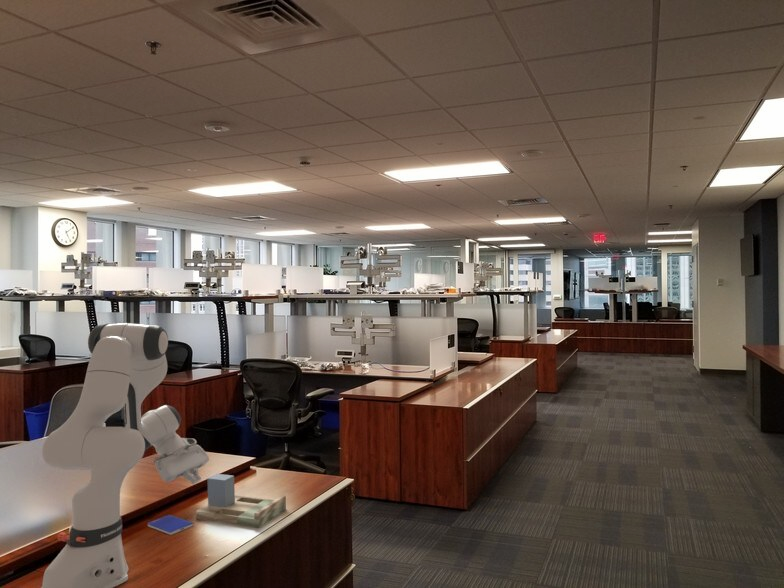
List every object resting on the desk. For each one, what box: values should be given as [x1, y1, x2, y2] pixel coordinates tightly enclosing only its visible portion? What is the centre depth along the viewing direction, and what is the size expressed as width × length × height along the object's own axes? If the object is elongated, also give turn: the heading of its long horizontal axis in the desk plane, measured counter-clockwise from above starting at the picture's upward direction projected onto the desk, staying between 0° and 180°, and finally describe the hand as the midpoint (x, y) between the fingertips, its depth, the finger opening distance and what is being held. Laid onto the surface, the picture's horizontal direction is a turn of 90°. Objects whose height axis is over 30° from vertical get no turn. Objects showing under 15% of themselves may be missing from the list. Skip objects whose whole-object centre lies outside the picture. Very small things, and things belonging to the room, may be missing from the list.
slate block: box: [206, 473, 236, 508], centre depth 194 cm, size 5×7×9 cm
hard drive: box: [147, 514, 195, 536], centre depth 182 cm, size 2×8×12 cm
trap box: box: [195, 494, 287, 529], centre depth 191 cm, size 16×24×4 cm, turn 69°
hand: (197, 481), depth 197 cm, fingers closed
